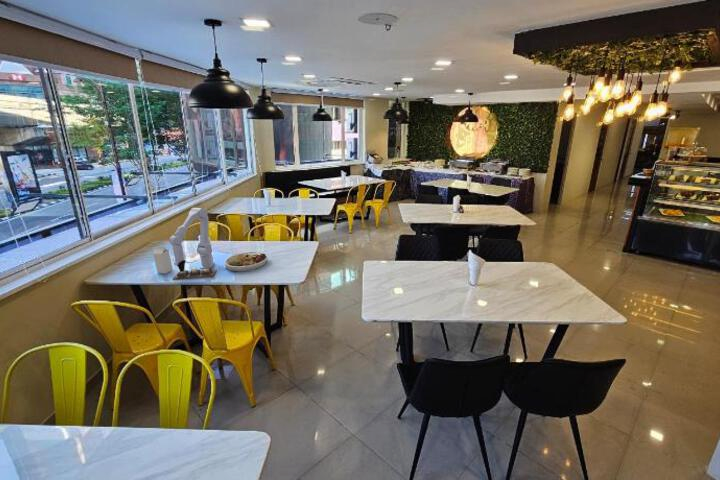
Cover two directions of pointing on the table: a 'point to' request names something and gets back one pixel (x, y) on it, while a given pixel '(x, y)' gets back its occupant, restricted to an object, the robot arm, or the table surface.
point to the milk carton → (162, 260)
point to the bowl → (246, 261)
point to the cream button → (194, 270)
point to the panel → (195, 274)
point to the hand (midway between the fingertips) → (182, 271)
